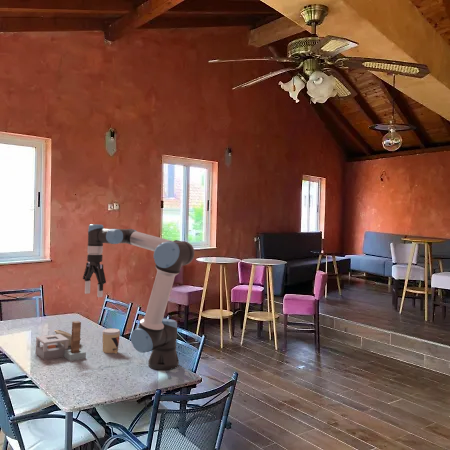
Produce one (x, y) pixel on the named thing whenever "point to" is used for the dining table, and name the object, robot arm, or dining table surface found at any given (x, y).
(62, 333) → the bowl
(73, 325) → the brown wooden bar
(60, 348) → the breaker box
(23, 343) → the dining table surface
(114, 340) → the coffee cup
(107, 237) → the robot arm
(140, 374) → the dining table surface
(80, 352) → the holder
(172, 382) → the dining table surface
